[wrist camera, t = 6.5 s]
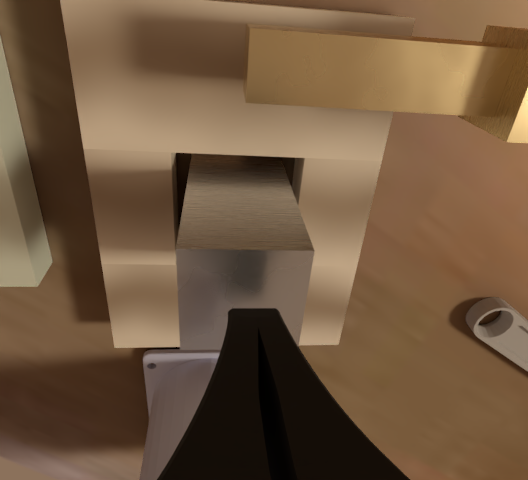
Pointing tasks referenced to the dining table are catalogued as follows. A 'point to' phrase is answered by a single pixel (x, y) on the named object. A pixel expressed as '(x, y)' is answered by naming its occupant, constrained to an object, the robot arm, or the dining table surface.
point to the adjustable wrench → (501, 329)
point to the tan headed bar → (393, 74)
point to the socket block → (210, 146)
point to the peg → (239, 247)
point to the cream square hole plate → (18, 200)
